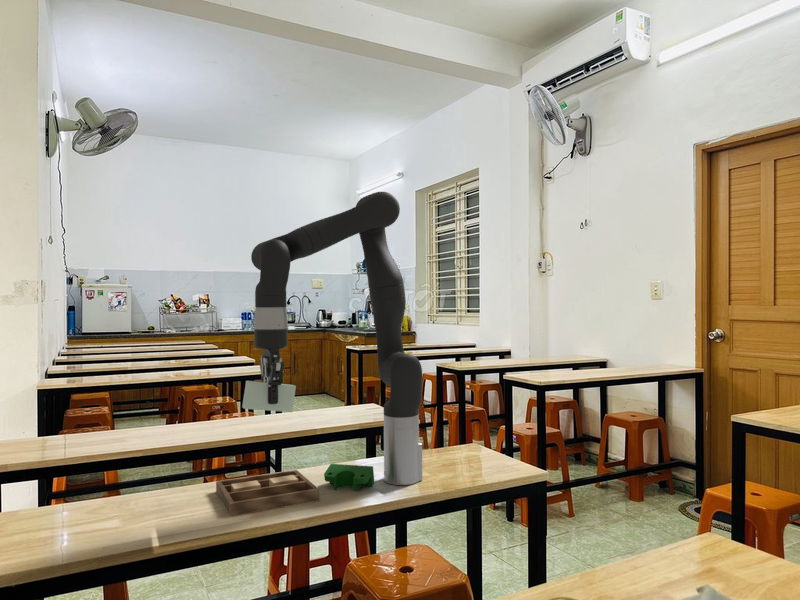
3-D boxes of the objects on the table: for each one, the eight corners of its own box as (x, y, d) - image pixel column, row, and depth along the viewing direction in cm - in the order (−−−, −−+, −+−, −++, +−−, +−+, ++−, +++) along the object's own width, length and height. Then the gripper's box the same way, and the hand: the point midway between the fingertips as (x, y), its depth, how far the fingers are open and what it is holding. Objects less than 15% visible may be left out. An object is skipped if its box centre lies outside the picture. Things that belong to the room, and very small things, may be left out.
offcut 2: (293, 487, 138) (293, 474, 138) (298, 491, 134) (298, 479, 134) (269, 490, 135) (269, 478, 135) (273, 495, 132) (273, 482, 132)
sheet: (242, 407, 126) (289, 410, 131) (244, 408, 124) (292, 412, 128) (246, 380, 126) (293, 384, 131) (248, 381, 124) (296, 386, 129)
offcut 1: (256, 492, 134) (256, 480, 134) (260, 497, 130) (260, 484, 130) (231, 496, 131) (231, 484, 131) (234, 502, 128) (234, 488, 128)
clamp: (333, 509, 137) (316, 478, 136) (341, 496, 143) (325, 465, 142) (374, 495, 133) (357, 463, 133) (381, 482, 139) (365, 451, 138)
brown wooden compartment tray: (296, 483, 144) (296, 469, 144) (319, 504, 128) (319, 489, 128) (216, 495, 135) (216, 481, 135) (230, 520, 119) (229, 504, 119)
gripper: (295, 327, 123) (296, 406, 123) (279, 326, 136) (279, 397, 135) (261, 328, 120) (262, 409, 120) (247, 327, 132) (248, 400, 132)
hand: (271, 402), depth 128 cm, fingers closed on sheet, 2 cm apart
